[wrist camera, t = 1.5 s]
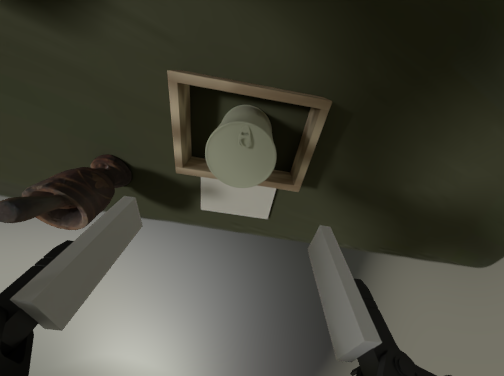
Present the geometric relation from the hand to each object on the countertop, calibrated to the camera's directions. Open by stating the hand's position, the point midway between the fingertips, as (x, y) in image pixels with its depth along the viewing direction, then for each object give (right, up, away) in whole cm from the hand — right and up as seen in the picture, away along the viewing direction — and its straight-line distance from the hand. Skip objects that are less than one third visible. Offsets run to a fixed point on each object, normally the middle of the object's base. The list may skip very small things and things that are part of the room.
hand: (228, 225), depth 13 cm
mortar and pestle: (-27, +8, +24) cm, 37 cm away
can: (+1, +13, +19) cm, 23 cm away
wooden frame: (+1, +13, +19) cm, 23 cm away
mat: (-2, +1, +27) cm, 27 cm away
